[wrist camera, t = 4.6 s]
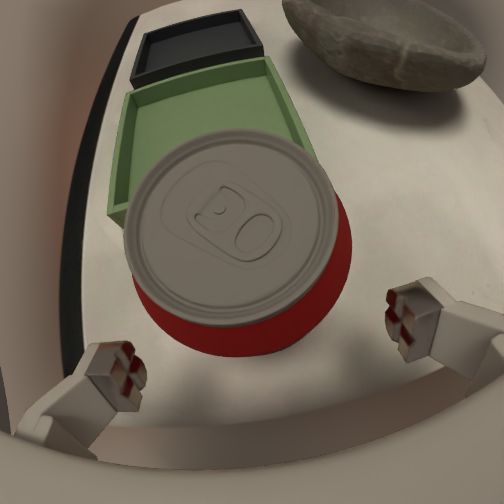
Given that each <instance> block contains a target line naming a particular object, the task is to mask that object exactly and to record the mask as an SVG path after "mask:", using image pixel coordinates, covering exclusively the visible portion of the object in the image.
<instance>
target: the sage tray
mask: <svg viewBox="0 0 504 504" xmlns="http://www.w3.org/2000/svg"><path fill="white" fill-rule="evenodd" d="M232 128H247V129H257V130H263V131H267V132H271V133H274V134H277V135H280V136H282V137H285V138H287V139H289V140H291V141H293V142H294V143H296V144H298V145H299V146H301V147H302V148H303V149H305V150H306V151H307V152H308V153H310V154H311V155H312V156H313V157H314V158H315V159H316V161H317V162H318V160H317V157H316V155H315V152H314V150H313V148H312V145H311V143H310V141H309V138H308V136H307V134H306V131H305V129H304V127H303V124H302V122H301V120H300V118H299V116H298V113H297V111H296V109H295V107H294V105H293V103H292V101H291V98H290V96H289V94H288V92H287V90H286V88H285V86H284V84H283V82H282V80H281V78H280V76H279V74H278V72H277V70H276V68H275V67H274V65H273V63H272V61H271V59H270V57H269V56H265V57H258V58H252V59H246V60H240V61H235V62H230V63H225V64H220V65H216V66H212V67H207V68H203V69H199V70H195V71H192V72H188V73H184V74H181V75H178V76H174V77H171V78H168V79H165V80H161V81H158V82H155V83H153V84H150V85H147V86H144V87H141V88H139V89H136V90H133V91H131V92H128V93H126V95H125V99H124V104H123V108H122V113H121V117H120V122H119V127H118V132H117V138H116V143H115V149H114V156H113V163H112V170H111V178H110V186H109V196H108V207H107V216H109V217H110V218H111V219H112V220H113V221H114V222H115V223H117V224H118V225H119V226H120V227H121V228H122V229H124V222H125V217H126V212H127V209H128V206H129V203H130V200H131V198H132V195H133V193H134V191H135V189H136V188H137V186H138V184H139V183H140V181H141V180H142V178H143V177H144V176H145V174H146V173H147V172H148V170H149V169H150V168H151V167H152V166H153V165H154V164H155V163H156V162H157V161H158V160H159V159H160V158H161V157H163V156H164V155H165V154H166V153H168V152H169V151H170V150H172V149H173V148H175V147H176V146H178V145H180V144H182V143H183V142H185V141H187V140H189V139H192V138H194V137H197V136H199V135H202V134H205V133H209V132H213V131H217V130H224V129H232ZM318 163H319V162H318Z"/></svg>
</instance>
